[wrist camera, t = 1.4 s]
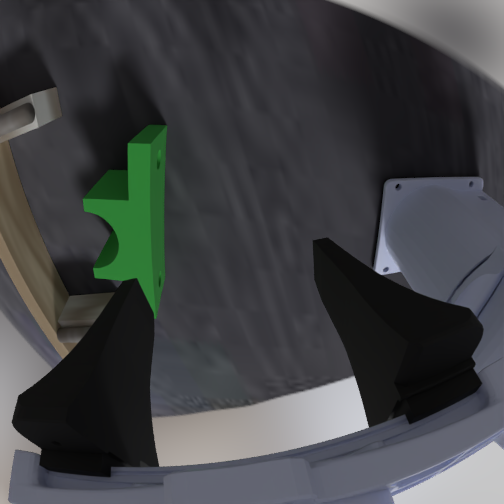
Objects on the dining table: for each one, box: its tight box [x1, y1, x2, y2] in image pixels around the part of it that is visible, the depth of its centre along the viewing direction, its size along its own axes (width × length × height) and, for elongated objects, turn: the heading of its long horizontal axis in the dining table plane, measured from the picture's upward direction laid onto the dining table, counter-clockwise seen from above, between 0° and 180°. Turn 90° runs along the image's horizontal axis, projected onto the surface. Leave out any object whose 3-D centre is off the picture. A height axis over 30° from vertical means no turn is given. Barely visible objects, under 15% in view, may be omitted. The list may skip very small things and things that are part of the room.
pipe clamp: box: [83, 125, 167, 319], centre depth 18 cm, size 11×4×5 cm, turn 172°
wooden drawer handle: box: [0, 87, 115, 359], centre depth 18 cm, size 6×22×4 cm, turn 5°
